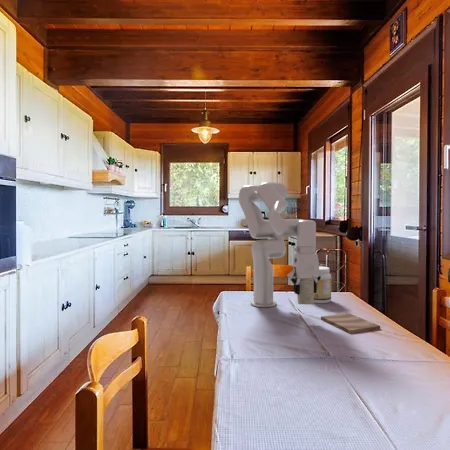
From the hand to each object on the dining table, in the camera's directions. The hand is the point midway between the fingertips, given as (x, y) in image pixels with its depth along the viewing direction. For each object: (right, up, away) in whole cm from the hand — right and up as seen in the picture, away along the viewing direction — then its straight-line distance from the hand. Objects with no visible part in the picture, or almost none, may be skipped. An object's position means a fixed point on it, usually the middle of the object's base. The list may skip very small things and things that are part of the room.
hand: (305, 292), depth 138 cm
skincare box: (0, -5, 0) cm, 5 cm away
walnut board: (+17, -12, -4) cm, 21 cm away
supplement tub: (+15, -11, +32) cm, 37 cm away
